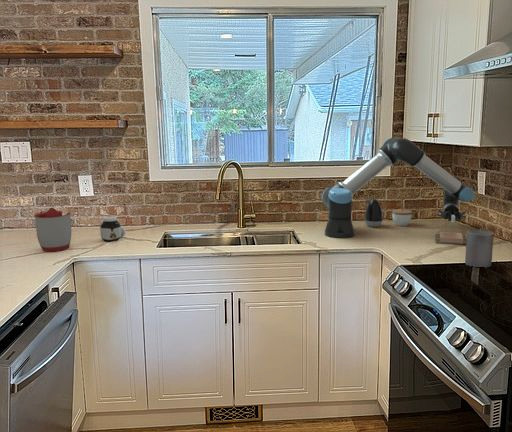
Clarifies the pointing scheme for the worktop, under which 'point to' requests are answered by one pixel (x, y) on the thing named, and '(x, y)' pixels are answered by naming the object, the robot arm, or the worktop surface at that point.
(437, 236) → the board
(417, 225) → the worktop surface
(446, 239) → the tile
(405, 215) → the lidded jar
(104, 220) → the spread jar
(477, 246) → the pillar candle
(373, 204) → the black rounded cone
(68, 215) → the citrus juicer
